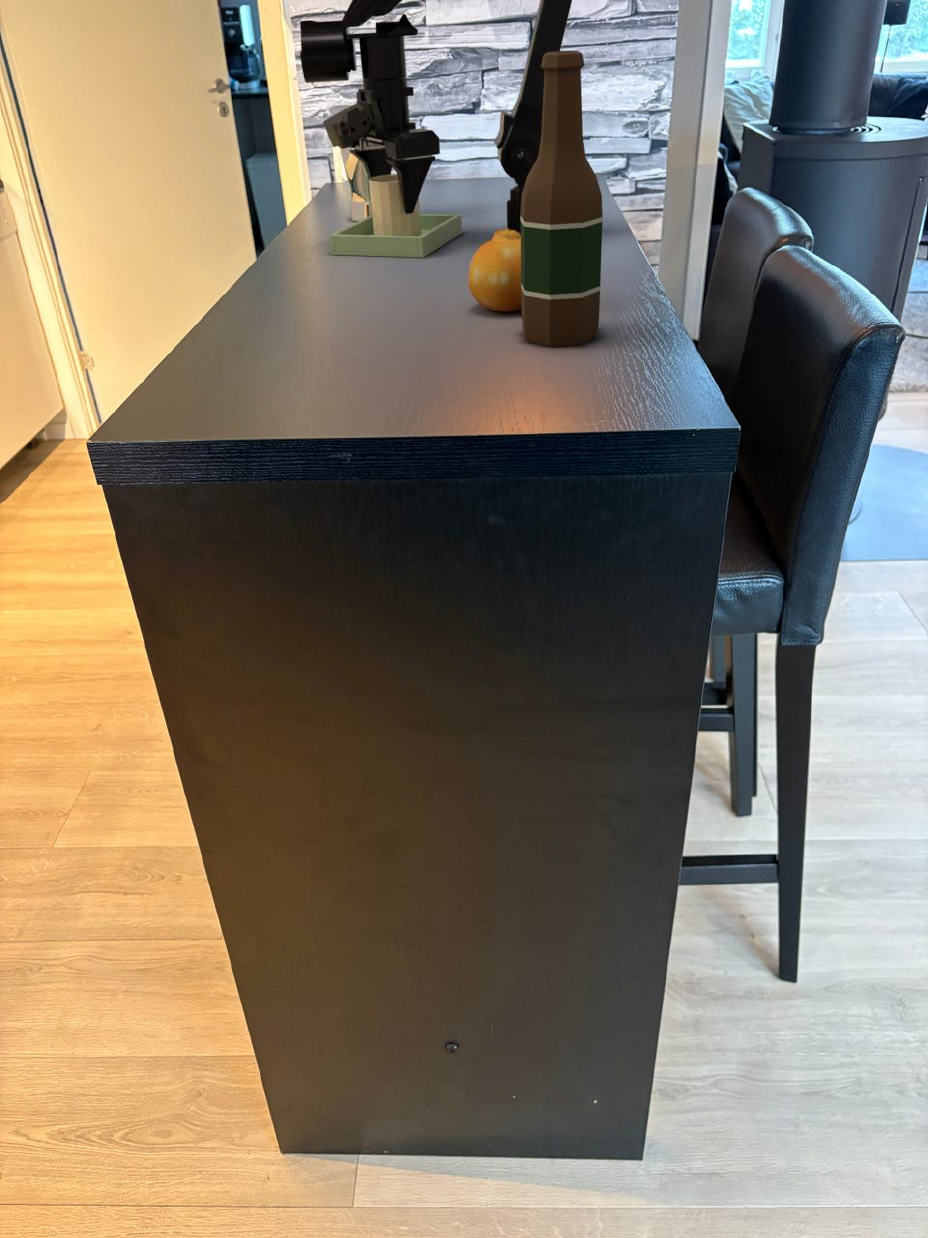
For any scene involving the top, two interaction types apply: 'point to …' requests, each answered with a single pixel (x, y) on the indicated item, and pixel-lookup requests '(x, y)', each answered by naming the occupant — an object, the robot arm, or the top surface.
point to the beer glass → (357, 186)
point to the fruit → (498, 272)
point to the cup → (391, 209)
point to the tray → (396, 238)
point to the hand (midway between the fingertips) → (395, 208)
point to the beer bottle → (561, 218)
